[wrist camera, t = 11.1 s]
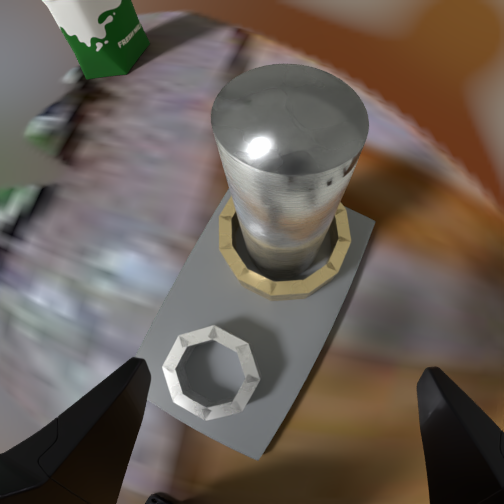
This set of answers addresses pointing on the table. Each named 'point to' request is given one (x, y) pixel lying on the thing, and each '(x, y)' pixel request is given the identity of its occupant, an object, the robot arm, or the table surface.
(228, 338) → the narrow aluminium socket
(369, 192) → the table surface
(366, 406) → the table surface
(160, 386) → the fitting board
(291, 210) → the disc
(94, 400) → the robot arm
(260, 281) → the wide brass socket
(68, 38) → the milk carton
